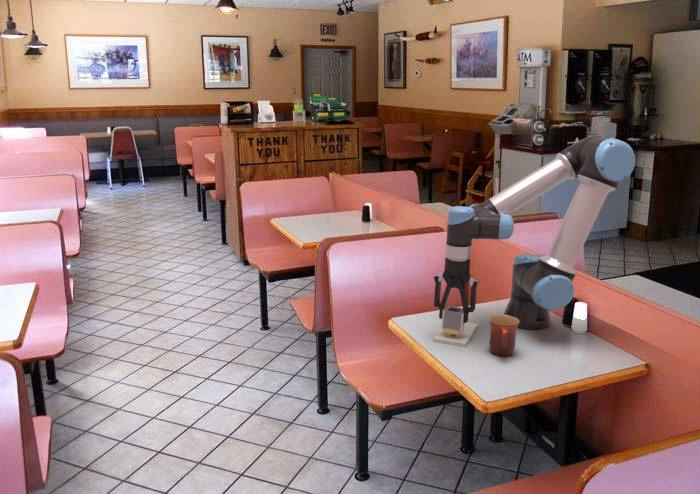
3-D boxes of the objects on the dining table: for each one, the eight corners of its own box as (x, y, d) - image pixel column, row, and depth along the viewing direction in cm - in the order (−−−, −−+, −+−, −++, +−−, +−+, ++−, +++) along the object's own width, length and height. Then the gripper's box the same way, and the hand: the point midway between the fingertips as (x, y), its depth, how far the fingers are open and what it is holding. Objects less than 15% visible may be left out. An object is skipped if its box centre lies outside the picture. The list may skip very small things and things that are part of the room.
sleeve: (462, 329, 198) (464, 308, 197) (458, 335, 194) (460, 313, 192) (446, 326, 200) (448, 305, 198) (442, 332, 196) (444, 310, 194)
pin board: (477, 326, 208) (478, 309, 206) (465, 346, 192) (466, 328, 190) (447, 322, 212) (448, 305, 210) (433, 341, 195) (434, 322, 194)
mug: (486, 345, 193) (488, 313, 191) (515, 348, 192) (518, 316, 189) (486, 361, 182) (489, 327, 179) (518, 364, 180) (521, 330, 178)
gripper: (490, 258, 191) (484, 331, 197) (432, 251, 198) (427, 321, 204) (485, 264, 185) (479, 339, 190) (425, 257, 191) (421, 329, 197)
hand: (452, 330), depth 197 cm, fingers closed on sleeve, 5 cm apart
